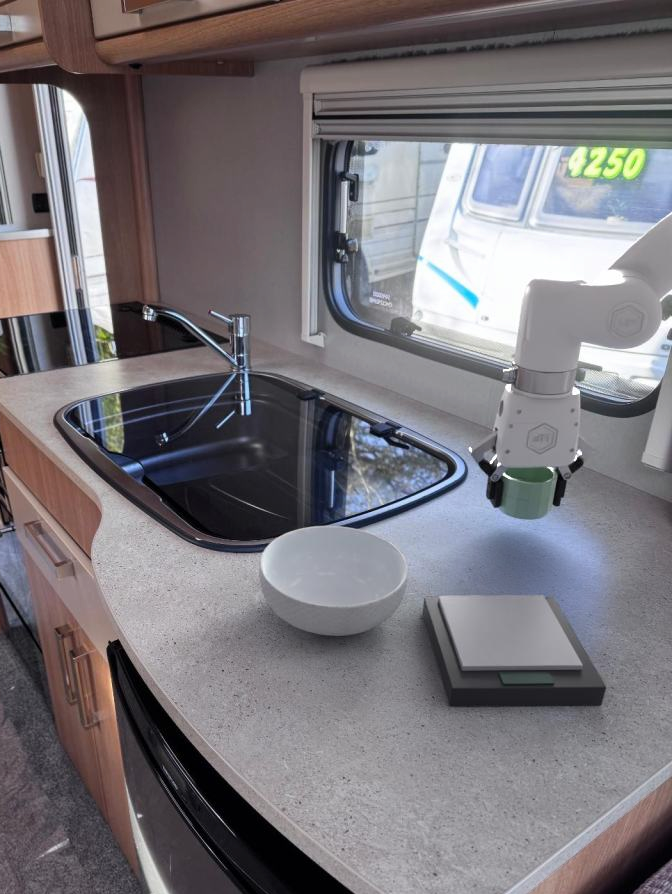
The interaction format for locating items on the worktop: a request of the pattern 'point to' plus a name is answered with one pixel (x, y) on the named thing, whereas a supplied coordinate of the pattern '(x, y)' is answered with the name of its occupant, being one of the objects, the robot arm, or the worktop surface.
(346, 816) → the worktop surface
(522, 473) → the small cup
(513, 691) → the scale
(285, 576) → the cereal bowl
